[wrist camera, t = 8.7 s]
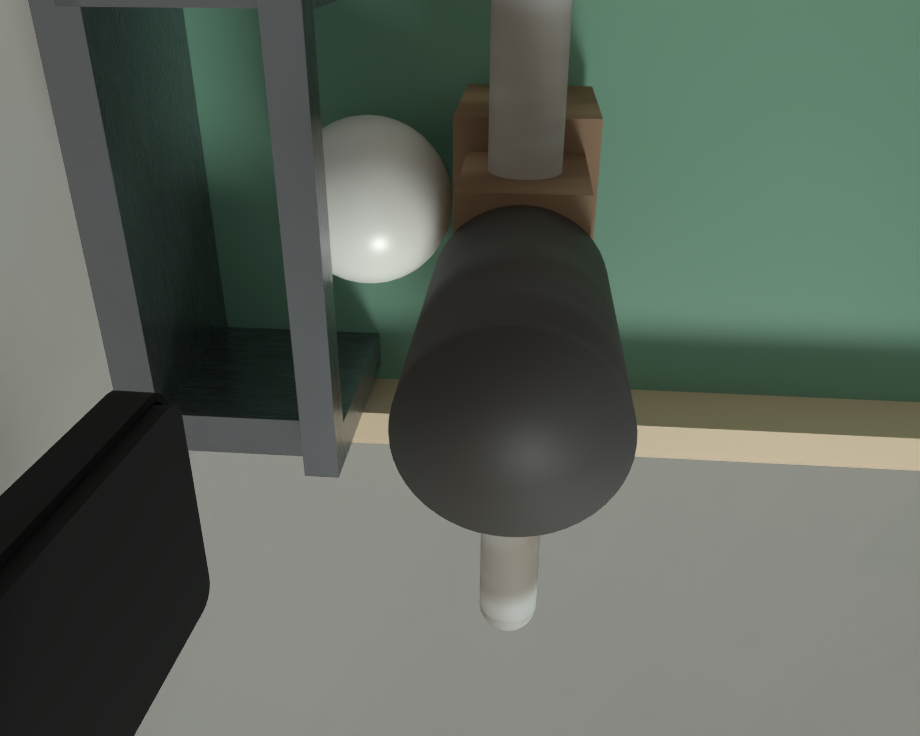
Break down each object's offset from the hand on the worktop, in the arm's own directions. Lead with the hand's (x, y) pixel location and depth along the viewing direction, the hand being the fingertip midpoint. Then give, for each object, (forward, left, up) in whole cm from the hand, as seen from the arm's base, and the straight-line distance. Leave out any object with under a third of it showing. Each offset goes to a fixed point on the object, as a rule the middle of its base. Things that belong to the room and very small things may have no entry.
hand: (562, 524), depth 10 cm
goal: (+7, 0, -14) cm, 15 cm away
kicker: (+1, 0, -13) cm, 13 cm away
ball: (+4, 0, -12) cm, 12 cm away
